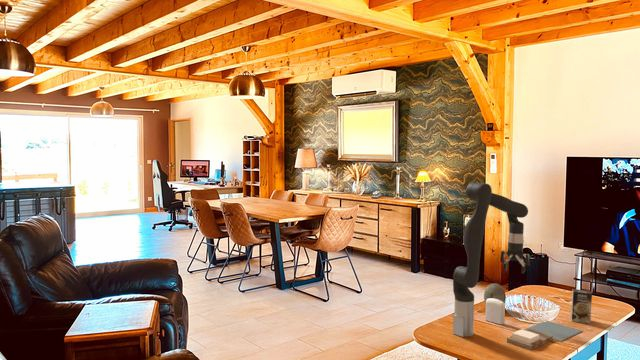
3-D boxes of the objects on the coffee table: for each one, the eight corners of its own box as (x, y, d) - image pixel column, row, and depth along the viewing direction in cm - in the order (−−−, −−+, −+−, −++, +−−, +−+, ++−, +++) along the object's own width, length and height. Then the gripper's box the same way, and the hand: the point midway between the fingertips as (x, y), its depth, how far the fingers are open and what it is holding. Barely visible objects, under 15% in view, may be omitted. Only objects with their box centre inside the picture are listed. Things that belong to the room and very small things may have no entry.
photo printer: (483, 320, 277) (484, 297, 276) (488, 318, 280) (489, 296, 279) (501, 325, 269) (502, 302, 268) (505, 323, 272) (506, 300, 271)
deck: (530, 350, 238) (530, 346, 238) (506, 342, 247) (507, 338, 247) (552, 340, 250) (552, 335, 250) (529, 332, 260) (529, 328, 259)
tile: (530, 344, 240) (530, 338, 240) (512, 338, 247) (512, 332, 247) (539, 339, 245) (539, 334, 245) (521, 334, 252) (521, 329, 252)
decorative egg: (502, 314, 287) (503, 287, 286) (481, 310, 293) (481, 284, 292) (507, 308, 297) (508, 282, 296) (486, 304, 303) (487, 279, 302)
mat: (560, 341, 248) (560, 340, 248) (523, 330, 263) (523, 329, 263) (582, 331, 262) (582, 330, 262) (546, 321, 277) (546, 320, 276)
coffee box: (571, 321, 276) (572, 291, 275) (570, 317, 282) (571, 288, 281) (590, 323, 273) (592, 293, 271) (589, 319, 278) (590, 290, 277)
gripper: (499, 240, 274) (498, 271, 275) (528, 244, 266) (526, 275, 267) (503, 238, 280) (502, 268, 281) (531, 242, 272) (530, 272, 273)
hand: (514, 271), depth 274 cm, fingers open, 8 cm apart
